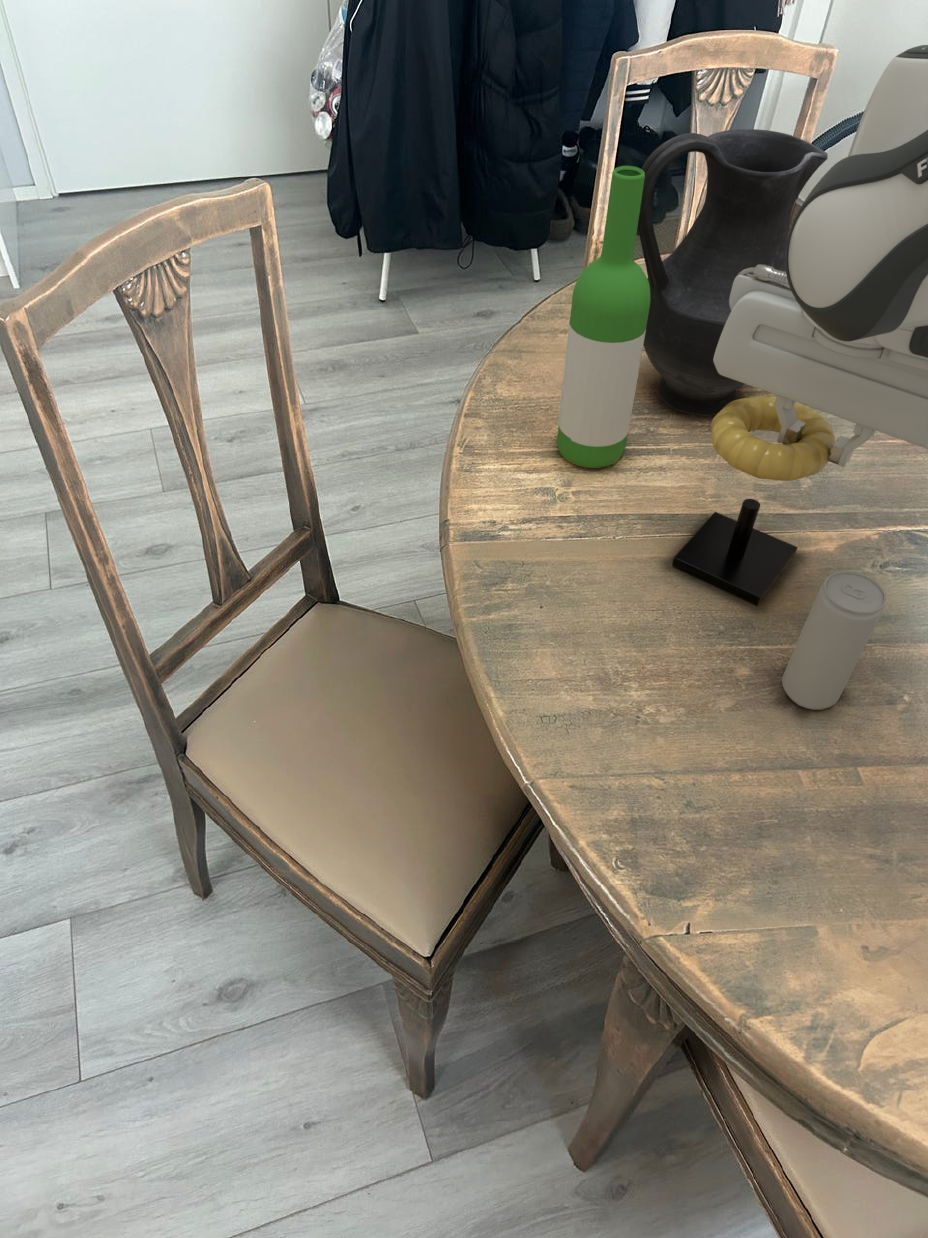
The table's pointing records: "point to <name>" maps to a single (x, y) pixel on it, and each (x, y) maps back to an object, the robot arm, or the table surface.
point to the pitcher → (716, 252)
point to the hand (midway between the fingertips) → (813, 451)
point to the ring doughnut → (761, 455)
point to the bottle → (606, 336)
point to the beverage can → (833, 639)
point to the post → (736, 555)
